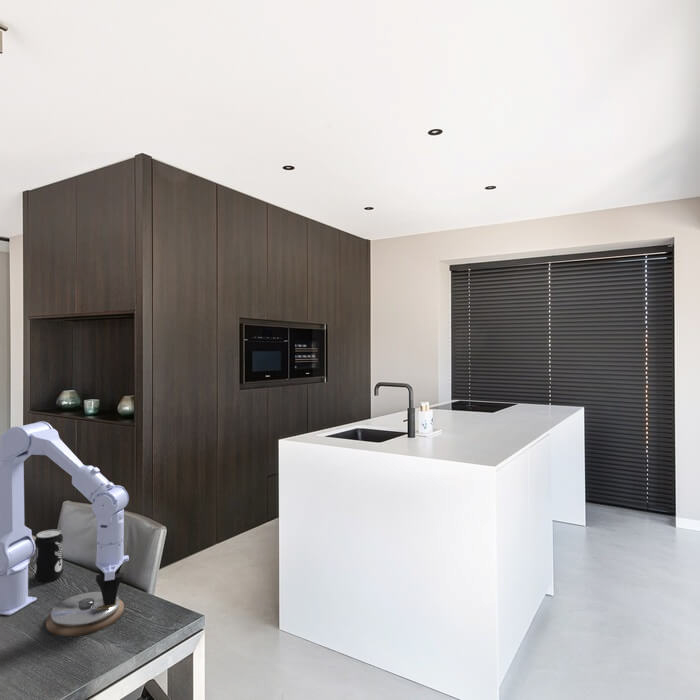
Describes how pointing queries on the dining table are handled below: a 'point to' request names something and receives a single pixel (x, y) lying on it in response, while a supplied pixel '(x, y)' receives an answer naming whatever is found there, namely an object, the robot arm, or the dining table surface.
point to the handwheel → (82, 610)
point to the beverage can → (48, 555)
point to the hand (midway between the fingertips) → (109, 598)
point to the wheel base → (84, 629)
